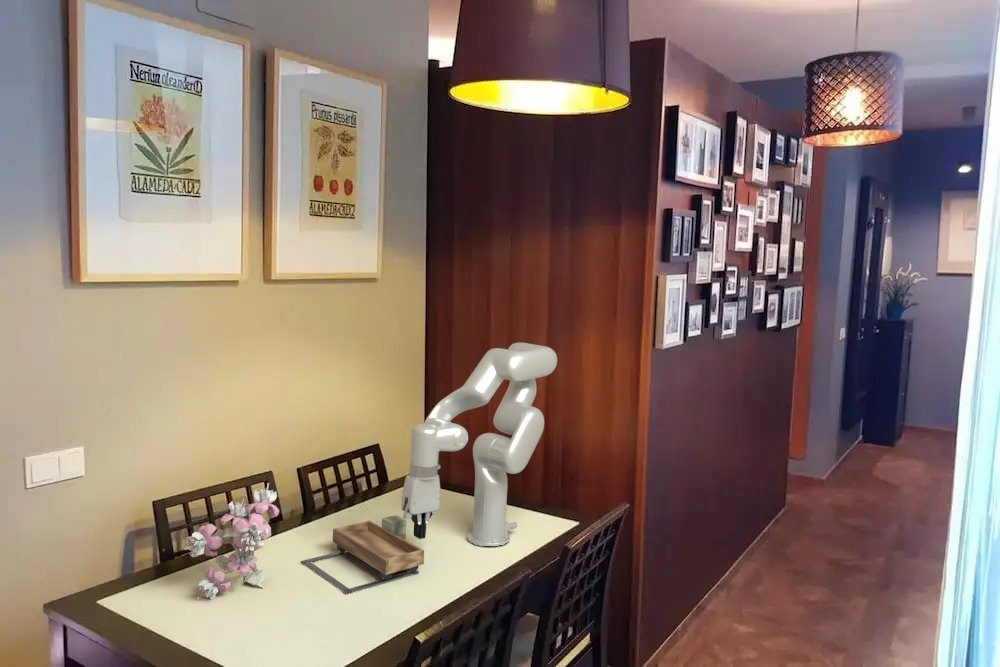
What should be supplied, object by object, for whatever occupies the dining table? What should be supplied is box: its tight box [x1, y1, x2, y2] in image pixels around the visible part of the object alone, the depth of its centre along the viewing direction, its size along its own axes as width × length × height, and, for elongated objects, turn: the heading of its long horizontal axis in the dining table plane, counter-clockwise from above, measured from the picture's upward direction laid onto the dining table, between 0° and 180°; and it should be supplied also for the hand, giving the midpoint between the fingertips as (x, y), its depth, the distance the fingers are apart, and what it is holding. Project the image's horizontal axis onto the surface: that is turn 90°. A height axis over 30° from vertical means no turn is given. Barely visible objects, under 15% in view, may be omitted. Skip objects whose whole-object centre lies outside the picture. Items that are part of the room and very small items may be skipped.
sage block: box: [381, 514, 407, 541], centre depth 222 cm, size 5×5×7 cm
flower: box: [182, 482, 280, 600], centre depth 188 cm, size 20×22×25 cm
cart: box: [332, 520, 425, 580], centre depth 206 cm, size 12×27×6 cm, turn 41°
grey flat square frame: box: [300, 550, 420, 595], centre depth 203 cm, size 22×24×1 cm
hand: (419, 537), depth 209 cm, fingers closed
